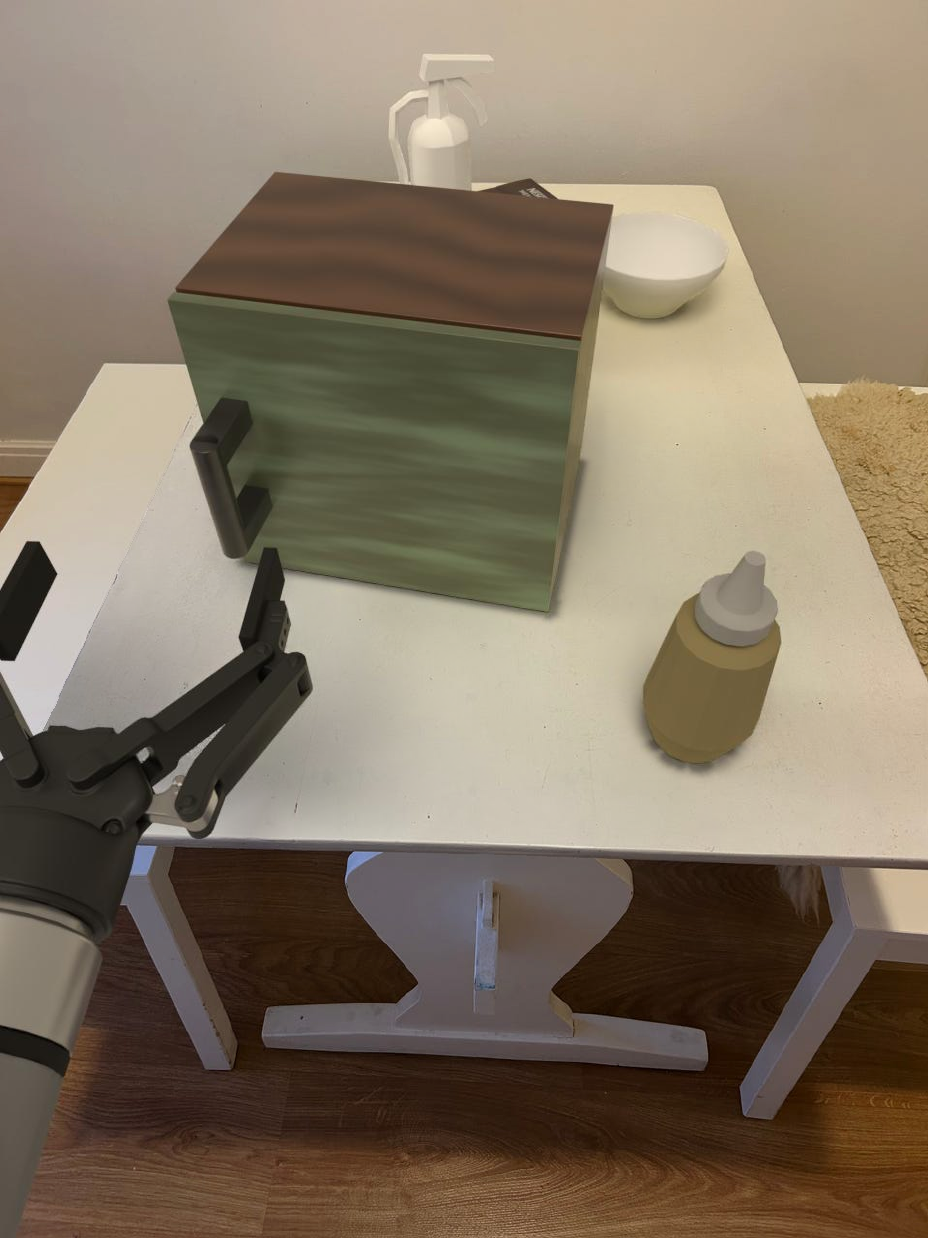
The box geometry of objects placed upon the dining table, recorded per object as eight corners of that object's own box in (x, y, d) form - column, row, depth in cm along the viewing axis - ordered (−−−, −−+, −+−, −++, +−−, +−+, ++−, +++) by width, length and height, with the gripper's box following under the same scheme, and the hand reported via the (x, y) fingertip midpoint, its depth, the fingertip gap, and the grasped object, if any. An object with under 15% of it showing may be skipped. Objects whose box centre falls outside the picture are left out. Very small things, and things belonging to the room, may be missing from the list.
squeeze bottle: (737, 793, 58) (822, 629, 44) (622, 758, 60) (669, 589, 46) (753, 702, 63) (835, 528, 49) (646, 672, 64) (696, 496, 51)
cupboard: (550, 602, 69) (582, 335, 50) (249, 552, 73) (174, 287, 54) (579, 463, 80) (613, 203, 61) (317, 426, 84) (274, 171, 65)
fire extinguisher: (383, 292, 100) (364, 50, 81) (481, 280, 102) (484, 40, 83) (393, 322, 96) (376, 74, 77) (495, 308, 98) (502, 63, 79)
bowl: (693, 352, 92) (707, 292, 87) (558, 319, 97) (563, 260, 91) (729, 285, 101) (744, 227, 96) (604, 257, 106) (611, 200, 100)
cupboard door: (536, 670, 64) (564, 409, 46) (215, 613, 68) (121, 351, 50) (550, 603, 69) (581, 340, 50) (248, 553, 72) (173, 291, 54)
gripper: (-221, 947, 38) (-24, 598, 52) (325, 972, 37) (378, 609, 51) (-345, 880, 32) (-86, 507, 46) (297, 907, 31) (366, 518, 45)
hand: (158, 560), depth 48 cm, fingers open, 13 cm apart
